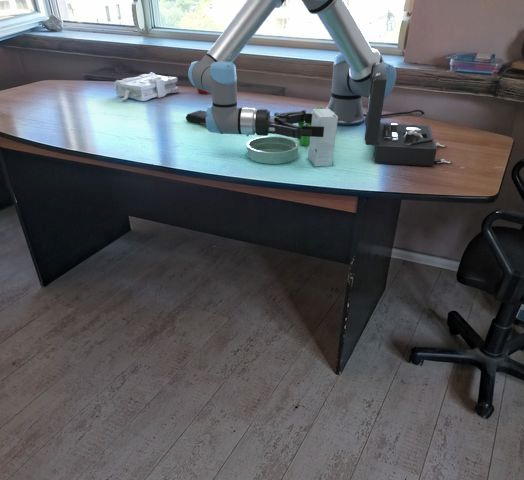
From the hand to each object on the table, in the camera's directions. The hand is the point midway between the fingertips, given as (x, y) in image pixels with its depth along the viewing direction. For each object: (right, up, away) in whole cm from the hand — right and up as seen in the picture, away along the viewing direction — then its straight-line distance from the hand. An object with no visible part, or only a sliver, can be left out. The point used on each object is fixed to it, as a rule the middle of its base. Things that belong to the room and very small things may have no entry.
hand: (325, 125), depth 146 cm
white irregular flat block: (-73, +47, +73) cm, 114 cm away
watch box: (+28, -2, +15) cm, 32 cm away
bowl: (-16, -5, +11) cm, 20 cm away
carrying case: (-41, +19, +40) cm, 61 cm away
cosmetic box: (-1, -9, +7) cm, 11 cm away
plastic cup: (-46, +51, +77) cm, 104 cm away
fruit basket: (-2, +5, +23) cm, 24 cm away
